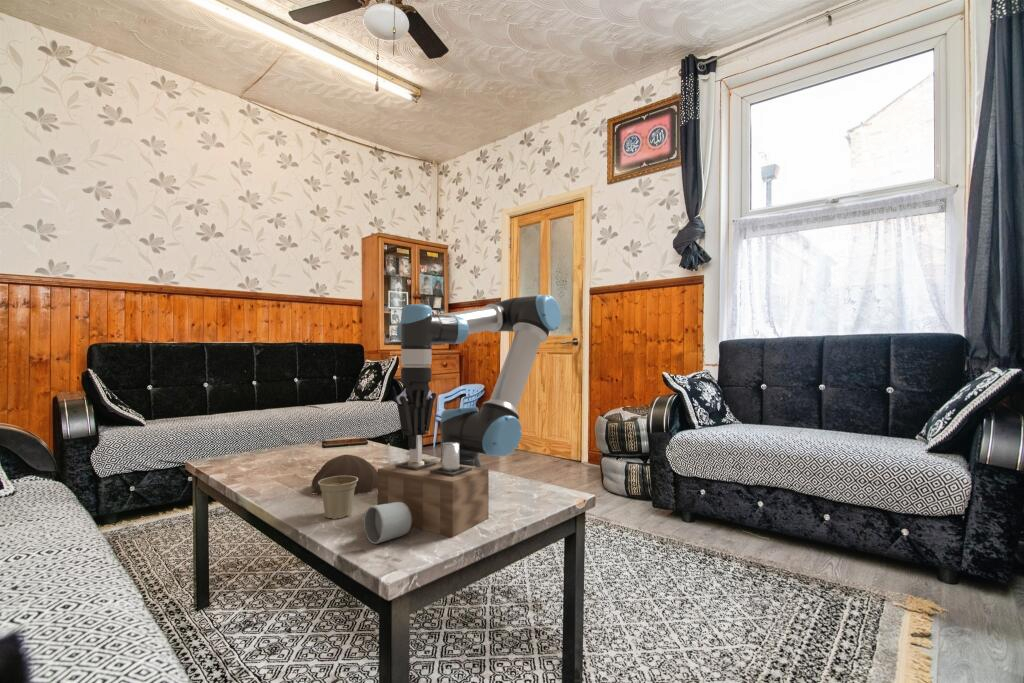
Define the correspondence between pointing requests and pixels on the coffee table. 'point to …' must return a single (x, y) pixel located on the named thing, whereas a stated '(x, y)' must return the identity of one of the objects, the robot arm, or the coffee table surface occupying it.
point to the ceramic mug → (387, 521)
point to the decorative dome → (348, 473)
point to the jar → (466, 460)
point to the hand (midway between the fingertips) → (415, 461)
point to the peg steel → (450, 457)
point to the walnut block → (437, 495)
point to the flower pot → (338, 495)
